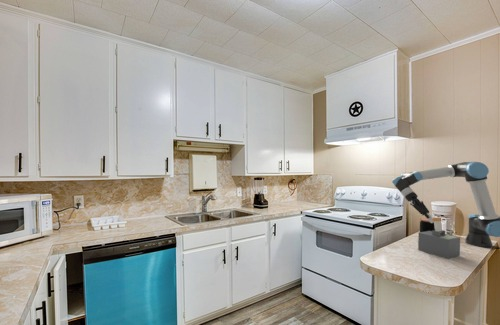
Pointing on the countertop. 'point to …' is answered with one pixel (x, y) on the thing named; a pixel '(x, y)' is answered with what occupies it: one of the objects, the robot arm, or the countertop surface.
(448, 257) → the box
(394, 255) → the countertop surface
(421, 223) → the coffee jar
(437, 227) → the lever
